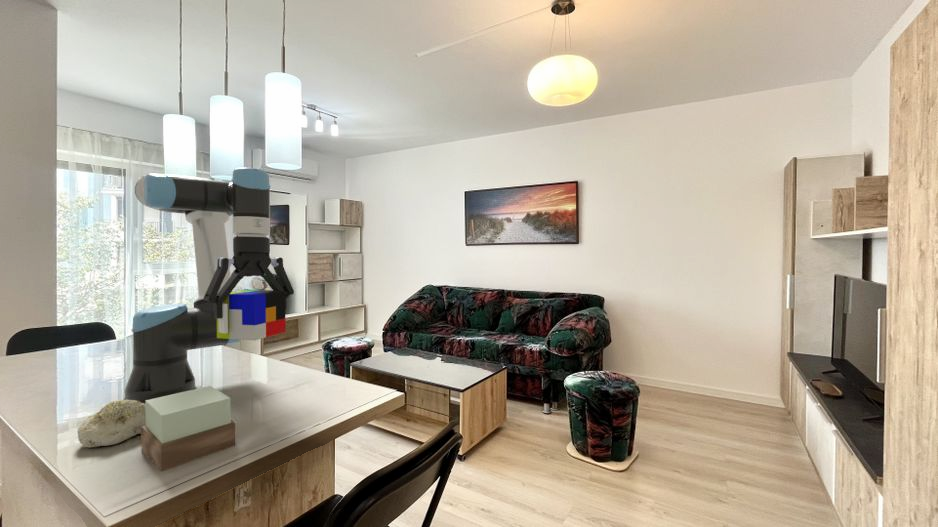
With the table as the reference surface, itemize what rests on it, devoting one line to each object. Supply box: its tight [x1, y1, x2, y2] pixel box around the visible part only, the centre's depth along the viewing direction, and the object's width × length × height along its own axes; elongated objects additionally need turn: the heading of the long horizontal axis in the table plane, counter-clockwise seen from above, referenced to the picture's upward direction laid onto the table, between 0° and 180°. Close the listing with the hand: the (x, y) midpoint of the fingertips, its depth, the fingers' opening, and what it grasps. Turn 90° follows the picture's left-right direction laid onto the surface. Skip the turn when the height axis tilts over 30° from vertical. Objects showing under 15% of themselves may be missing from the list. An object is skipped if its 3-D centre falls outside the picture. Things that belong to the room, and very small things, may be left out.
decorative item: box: [77, 399, 146, 448], centre depth 82 cm, size 12×9×10 cm
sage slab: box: [145, 385, 232, 444], centre depth 77 cm, size 11×11×5 cm
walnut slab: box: [140, 419, 236, 472], centre depth 78 cm, size 12×12×5 cm
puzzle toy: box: [217, 289, 286, 341], centre depth 93 cm, size 10×10×10 cm
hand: (252, 328), depth 93 cm, fingers closed on puzzle toy, 12 cm apart
